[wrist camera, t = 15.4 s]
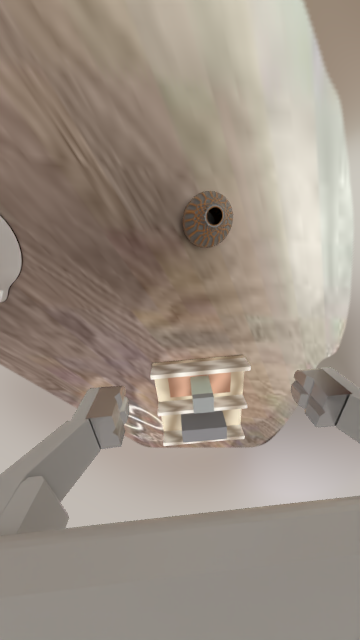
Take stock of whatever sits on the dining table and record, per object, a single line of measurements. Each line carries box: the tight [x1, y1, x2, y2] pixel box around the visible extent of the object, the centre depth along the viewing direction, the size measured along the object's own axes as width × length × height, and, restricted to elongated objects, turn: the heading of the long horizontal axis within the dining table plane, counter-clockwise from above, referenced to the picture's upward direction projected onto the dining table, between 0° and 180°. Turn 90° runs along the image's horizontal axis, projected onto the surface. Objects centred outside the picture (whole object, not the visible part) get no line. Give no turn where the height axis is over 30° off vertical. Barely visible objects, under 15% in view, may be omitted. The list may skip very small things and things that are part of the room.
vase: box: [183, 191, 233, 248], centre depth 24 cm, size 7×7×9 cm
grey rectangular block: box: [190, 375, 214, 414], centre depth 37 cm, size 4×4×6 cm
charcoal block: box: [181, 410, 227, 443], centre depth 42 cm, size 10×4×5 cm, turn 95°
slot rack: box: [150, 355, 251, 446], centre depth 41 cm, size 20×22×4 cm
